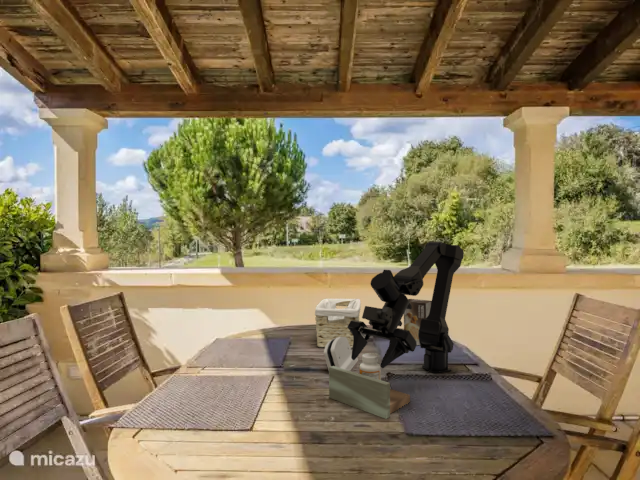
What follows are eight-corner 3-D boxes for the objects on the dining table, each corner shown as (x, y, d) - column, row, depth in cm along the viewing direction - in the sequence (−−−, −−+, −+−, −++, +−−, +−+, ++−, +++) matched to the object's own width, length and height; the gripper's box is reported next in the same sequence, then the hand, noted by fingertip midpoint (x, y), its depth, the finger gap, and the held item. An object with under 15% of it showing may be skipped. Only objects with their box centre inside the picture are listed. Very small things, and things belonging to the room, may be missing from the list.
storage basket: (322, 332, 182) (322, 297, 182) (361, 333, 180) (361, 297, 179) (314, 349, 158) (313, 308, 158) (359, 350, 156) (358, 309, 156)
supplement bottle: (364, 387, 115) (364, 351, 115) (383, 391, 113) (383, 353, 112) (356, 394, 110) (356, 356, 110) (376, 398, 108) (376, 359, 108)
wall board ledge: (357, 385, 122) (357, 357, 122) (413, 403, 110) (413, 372, 109) (329, 397, 114) (328, 367, 114) (386, 418, 101) (386, 384, 101)
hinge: (345, 376, 130) (334, 343, 130) (331, 380, 131) (320, 348, 132) (358, 359, 146) (348, 330, 146) (345, 363, 147) (335, 334, 148)
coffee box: (432, 343, 164) (432, 300, 164) (426, 347, 159) (426, 303, 158) (409, 339, 170) (409, 298, 169) (402, 343, 164) (402, 300, 164)
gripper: (351, 290, 120) (323, 338, 112) (410, 298, 107) (383, 353, 99) (369, 314, 126) (344, 361, 118) (427, 324, 113) (403, 378, 105)
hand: (366, 363), depth 110 cm, fingers open, 9 cm apart
